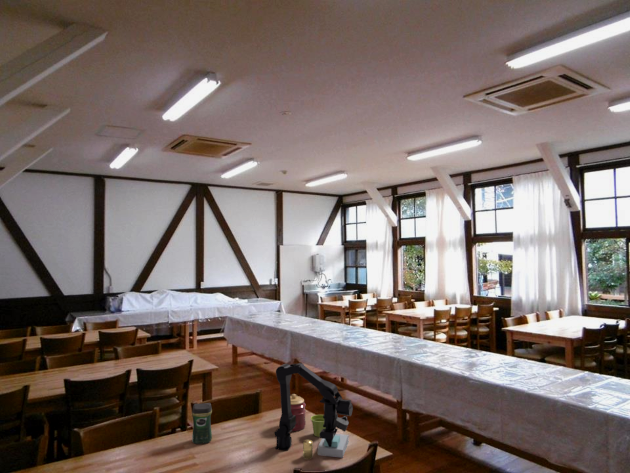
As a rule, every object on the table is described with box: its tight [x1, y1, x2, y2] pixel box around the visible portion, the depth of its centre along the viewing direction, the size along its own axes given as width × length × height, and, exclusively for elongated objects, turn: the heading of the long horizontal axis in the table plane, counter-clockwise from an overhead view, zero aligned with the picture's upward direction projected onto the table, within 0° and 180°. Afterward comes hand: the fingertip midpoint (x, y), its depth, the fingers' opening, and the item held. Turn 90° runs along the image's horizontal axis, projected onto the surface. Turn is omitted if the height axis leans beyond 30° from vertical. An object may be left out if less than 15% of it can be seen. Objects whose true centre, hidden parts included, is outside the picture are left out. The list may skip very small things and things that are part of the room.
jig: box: [317, 433, 350, 459], centre depth 210 cm, size 12×17×4 cm
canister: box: [290, 393, 307, 432], centre depth 236 cm, size 13×13×18 cm
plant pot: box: [310, 414, 326, 438], centre depth 225 cm, size 9×9×9 cm
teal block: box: [324, 435, 340, 447], centre depth 206 cm, size 6×7×2 cm
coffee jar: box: [191, 402, 213, 445], centre depth 218 cm, size 10×8×19 cm
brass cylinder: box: [302, 439, 314, 460], centre depth 201 cm, size 4×4×7 cm
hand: (330, 446), depth 201 cm, fingers closed
